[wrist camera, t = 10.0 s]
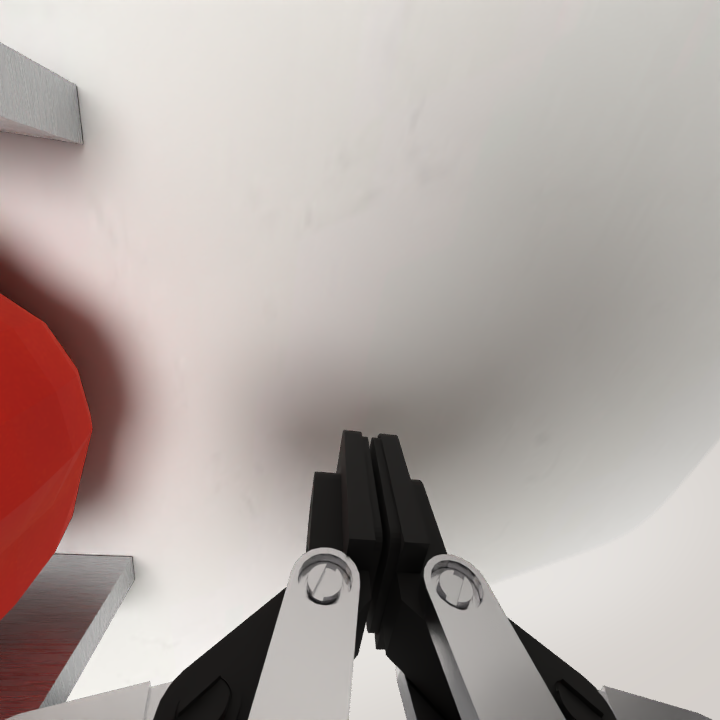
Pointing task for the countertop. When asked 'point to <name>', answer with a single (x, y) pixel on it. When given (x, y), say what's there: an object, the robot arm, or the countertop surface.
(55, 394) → the tomato
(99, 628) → the grey u-shaped bracket
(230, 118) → the countertop surface
